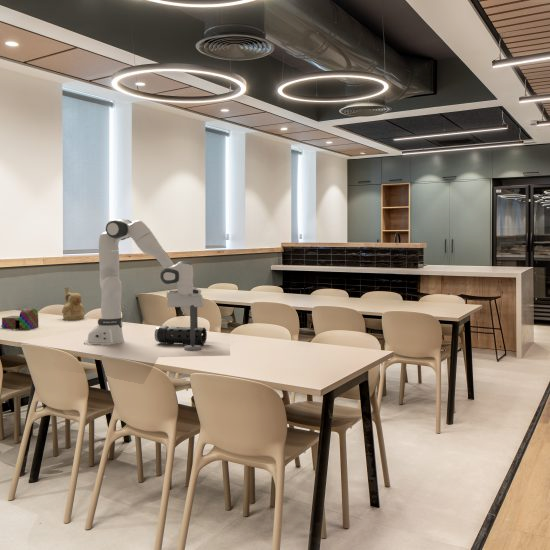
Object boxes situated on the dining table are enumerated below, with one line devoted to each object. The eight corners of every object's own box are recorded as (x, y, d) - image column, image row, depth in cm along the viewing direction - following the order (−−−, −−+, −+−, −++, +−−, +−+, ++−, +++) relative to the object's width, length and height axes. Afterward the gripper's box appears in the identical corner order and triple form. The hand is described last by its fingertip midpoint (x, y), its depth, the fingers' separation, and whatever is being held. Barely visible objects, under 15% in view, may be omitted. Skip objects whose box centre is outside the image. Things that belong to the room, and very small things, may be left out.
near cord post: (183, 350, 300) (183, 306, 299) (184, 347, 309) (184, 304, 308) (200, 350, 301) (200, 305, 300) (201, 347, 310) (201, 304, 309)
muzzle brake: (201, 347, 313) (201, 328, 312) (154, 345, 318) (153, 327, 318) (207, 344, 322) (206, 326, 321) (160, 342, 328) (160, 324, 327)
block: (43, 327, 394) (42, 306, 393) (28, 330, 377) (27, 309, 376) (10, 326, 398) (10, 306, 397) (-6, 330, 381) (-6, 309, 381)
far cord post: (187, 341, 330) (186, 300, 329) (188, 338, 339) (188, 299, 338) (203, 341, 331) (202, 300, 330) (203, 338, 340) (203, 298, 339)
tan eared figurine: (69, 323, 411) (68, 289, 410) (56, 321, 425) (55, 287, 423) (90, 320, 424) (89, 287, 423) (77, 318, 437) (76, 286, 436)
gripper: (166, 290, 314) (166, 315, 315) (203, 290, 316) (203, 315, 317) (167, 290, 321) (167, 314, 321) (203, 290, 322) (203, 314, 323)
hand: (185, 314), depth 319 cm, fingers closed
